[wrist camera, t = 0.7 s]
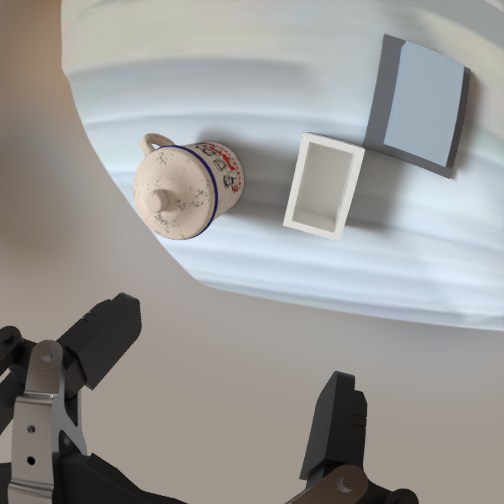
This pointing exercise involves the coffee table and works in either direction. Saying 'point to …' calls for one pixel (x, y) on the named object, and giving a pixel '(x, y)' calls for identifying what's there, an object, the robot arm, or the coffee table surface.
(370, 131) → the mat
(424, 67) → the lid
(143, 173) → the teacup with lid
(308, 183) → the white open cubby box
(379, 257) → the coffee table surface
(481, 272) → the coffee table surface
